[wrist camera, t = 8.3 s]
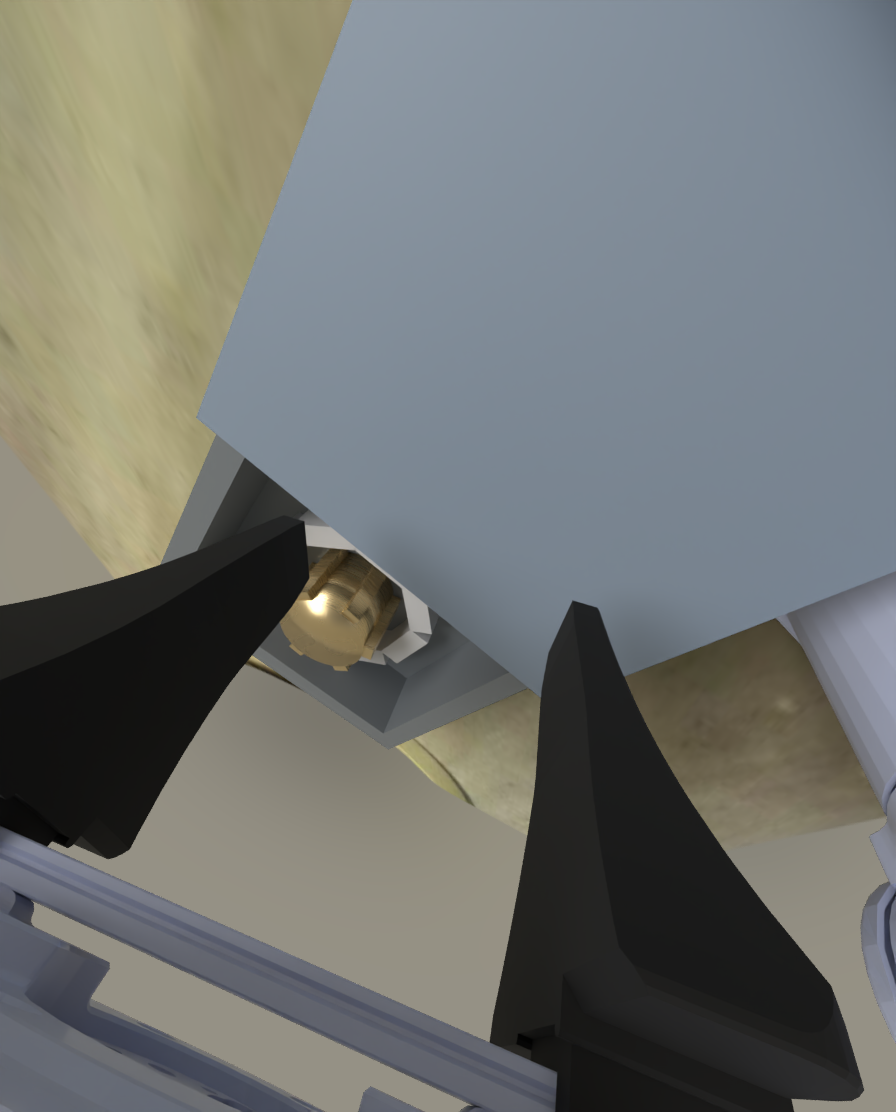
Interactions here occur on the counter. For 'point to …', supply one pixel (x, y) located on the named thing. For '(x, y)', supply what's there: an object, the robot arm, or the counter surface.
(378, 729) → the housing
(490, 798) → the counter surface
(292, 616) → the ribbed brass cylinder
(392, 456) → the lid
